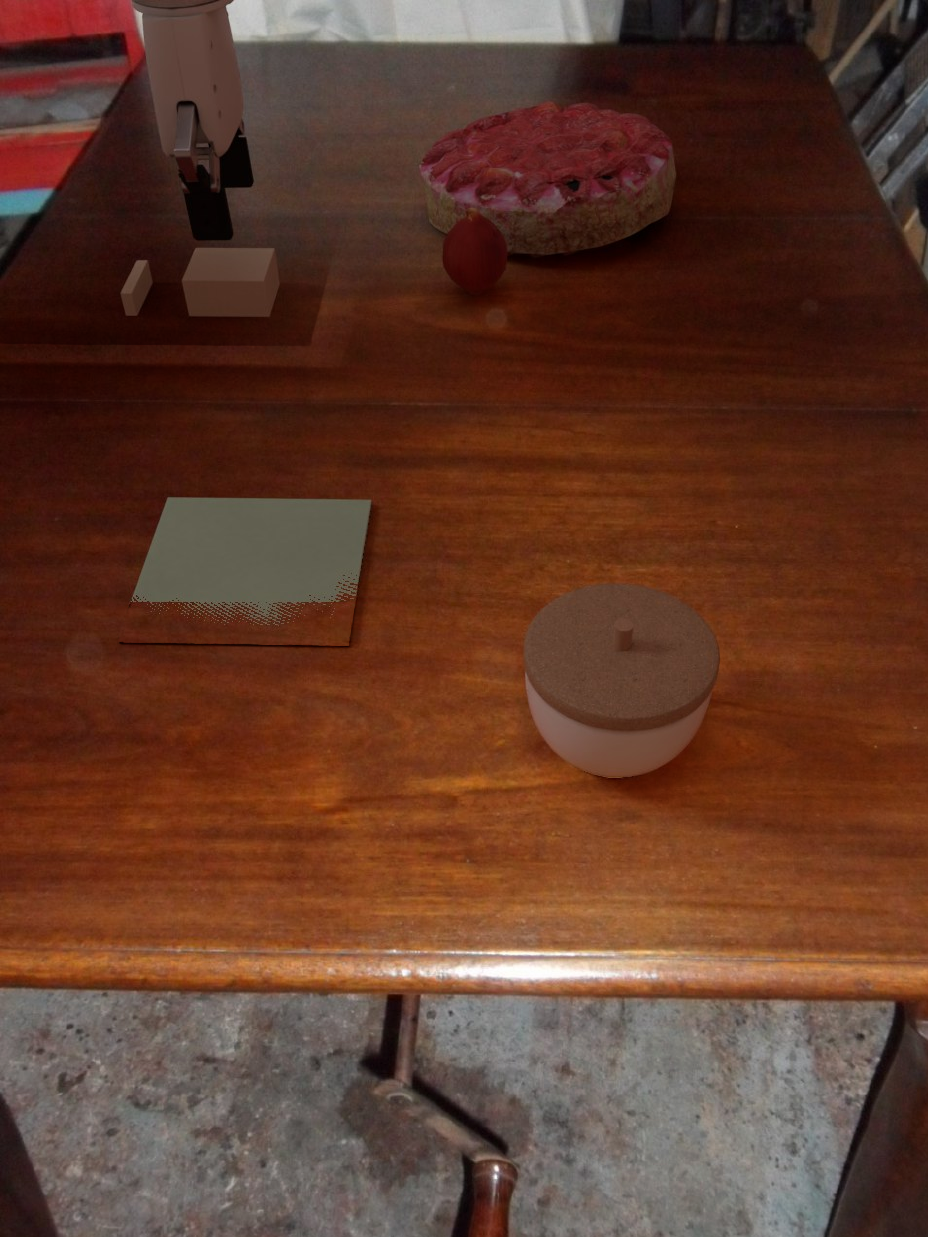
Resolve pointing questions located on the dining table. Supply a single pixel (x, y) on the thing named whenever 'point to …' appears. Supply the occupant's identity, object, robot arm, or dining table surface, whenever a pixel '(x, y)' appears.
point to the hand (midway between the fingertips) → (225, 211)
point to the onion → (474, 253)
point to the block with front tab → (216, 283)
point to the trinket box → (619, 677)
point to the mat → (254, 553)
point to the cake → (552, 176)
